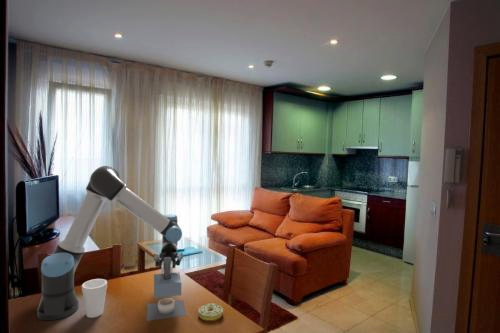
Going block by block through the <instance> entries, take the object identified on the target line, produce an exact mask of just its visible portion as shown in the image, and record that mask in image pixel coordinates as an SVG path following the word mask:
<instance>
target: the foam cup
mask: <svg viewBox="0 0 500 333" xmlns="http://www.w3.org/2000/svg"><path fill="white" fill-rule="evenodd" d="M107 288H108V281H107V279H103V278H95V279H94V278H93V279H90V280H87V281H85V282H83V283H82V284H81V292H82V296H83V304H84V309H85V310H84V311H85V315H86V317H87V318H93V319H94V318H98V317H99V316H102V314H103V313H104V308H105V302H106V301H105V299H106V294H107Z"/></svg>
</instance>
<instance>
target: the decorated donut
mask: <svg viewBox="0 0 500 333" xmlns="http://www.w3.org/2000/svg"><path fill="white" fill-rule="evenodd" d="M197 311H198V312H197V313H198V314H197V315H198V316H199V318H200V319H201V320H203V321H205V322H215V321H218V320H220V318H222V316H223V314H224V308H223V307H222V306H221V305H219V304H217V303H211V302H208V303H205V304H204V305H201V306H200V307H199V308H198V310H197Z"/></svg>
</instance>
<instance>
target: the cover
mask: <svg viewBox="0 0 500 333" xmlns="http://www.w3.org/2000/svg"><path fill="white" fill-rule="evenodd" d="M170 266H171V257H164V271H163V273H162V274H161V273H156V274H153V299H163V298H171V297H177V296H182V278H181V274H180V271H178V272H177V271H176V272H172V273H170Z"/></svg>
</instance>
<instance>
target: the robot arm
mask: <svg viewBox="0 0 500 333" xmlns="http://www.w3.org/2000/svg"><path fill="white" fill-rule="evenodd" d="M85 190H86V192H87V193H86V195H85V197H84V200H83V201H82V204H81V206H80V208H79V209H78V211H77V213H76V216H75V217H74V219H73V221H72V224H71V226H70V227H69V229H68V231H67V234H66V236H65V238H64V240H61V241H59V242H58V244H57V246H56V248H55V250H54V251H53V252H52V254H51V255H48V256H46V257H45V258H43V260H42V262H41V266H40V272H41V298H40V301H39V304H38V307H37V310H36V316H37V318H38V319H39V320H41V321H55V320H60V319H64V318H66V317H69V316H71V315H73V314H74V313H76V312H77V311H78V310H79V306H80V305H79V304H80V303H79V299H78V297H77V294H76V292H75V272H76V270H77V268H78V265H79V264H80V262H81V259H82V257H83V255H84V253H85V247H84V245H85V243H86V242H87V239H88V237H89V235H90V234H91V231H92V229H93V228H94V225H95V223H96V220H97V218H98V217H99V215H100V213H101V211H102V209H103V206H104V205H105V202H106V201H107V200H108V201H110V202H116V203H117V204H119V205H120V206H121V207H123V208H124V209H125V210H127V211H129V212H130V213H131V214H133V216H135V217H137V218H138V219H139V220H141V221H142V222H144V223H146V224H147V225H148V226H149V227H151V228H152V229H153V230H155V232H156V231H157V232H158V233H159V234H160V235H161V236H162V237H161V238H162V246H161V250H160V253H159V254H157V253H154V254H153V260H154V261H155V263H154V264H155V268H158V269H159V270H161V271H160V272H161V273H160V274H164V257H171V266H170V273H173V269H176V266H178V267H179V266H181V261H182V259H184V258H183V257H184V254H183V252H179V253H178V242H180V241H181V239H182V236H183V231H182V228H180V226H179V224H178V216H177V215H176V214H165V215H164V214H162V213H161V212H160V211H158V210H157V209H156V208H154V207H153V206H151V205H150V204H149V203H148V202H147V201H145V200H144V199H142V198H141V196H138V195H137V194H136V193H135V192H133V191H132V190H130V189H129V188H127V184H126V183H125V182H123V181H122V180H121V179H120V174H119V172H118V170H116V169H115V168H113V167H112V166H108V165H103V166H99V167H97V168H96V169H95V170H94V171H93V172H91V175H90V178H89V181H88V184H87V185H86V188H85ZM159 259H160V260H159Z"/></svg>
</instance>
